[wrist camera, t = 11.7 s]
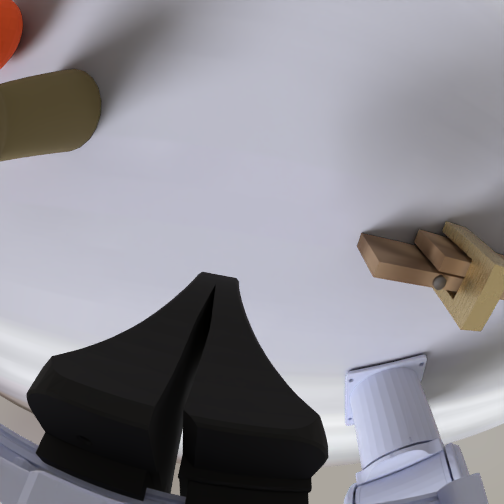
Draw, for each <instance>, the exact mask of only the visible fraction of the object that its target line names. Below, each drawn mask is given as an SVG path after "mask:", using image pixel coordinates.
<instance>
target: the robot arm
mask: <svg viewBox="0 0 504 504" xmlns="http://www.w3.org/2000/svg"><path fill="white" fill-rule="evenodd" d="M426 362H427V357H426V355H419V356H415V357H411V358H407V359H403V360H399V361H395V362H391V363H386V364H382V365H377V366H373V367H368V368H363V369H358V370H353V371H349V372H347V373H346V375H345V376H346V401H345V424H346V425H348V426H349V425H355V430H356V436H357V442H358V448H359V454H360V460H361V467H362V471H360V472H357V473H356V481H357V483H354V484H352V485H351V486H350V487H349V490H348V492H347V494H346V496H345V499H344V504H488V500H487V497H486V493H485V489H484V486H483V483H482V480H481V476H480V473H475V474H472V475H469V472H468V469H467V466H466V463H465V460H464V457H463V454H462V452H461V449H460V447H459V445H456V444H453V443H449V444H447V445H445V446H444V444H443V442H442V440H441V437H440V434H439V431H438V428H437V425H436V423H435V420H434V417H433V414H432V411H431V409H430V406H429V403H428V401H427V398H426V395H425V393H424V390H423V388H422V385H421V381H422V378H423V374H424V370H425V366H426ZM27 401H28V404H29V406H30V408H31V410H32V412H33V414H34V415H35V416H36V418H37V420H38V421H39V423H40V424H41V426H42V428H43V429H44V430H45V434H44V436H43V438H42V440H41V442H40V445H37V444H35V443H33V442H31V441H29V440H28V439H26V438H24V437H22V436H20V435H19V434H17V433H15V432H14V431H12V430H10V429H9V428H7V427H5V426H4V425H2V424H0V504H308V493H309V492H310V491H311V488H312V486H311V477H312V476H313V475H314V474H315V473H316V472H317V471H318V470H319V469H320V468H321V467H322V466H323V465H324V463H325V462H326V460H327V459H328V444H327V439H326V435H325V431H324V428H323V424H322V421H321V418H320V416H319V415H318V414H317V413H316V412H315V411H314V410H313V409H312V408H311V407H310V406H308V405H307V404H306V403H305V402H304V401H303V400H302V399H301V398H300V397H299V396H297V394H296V393H295V392H294V391H293V390H292V389H291V388H290V387H289V386H288V385H287V383H286V382H285V381H284V379H283V378H282V377H281V376H280V374H279V373H278V372H277V370H276V369H275V368H274V367H273V365H272V364H271V362H270V361H269V359H268V358H267V356H266V355H265V353H264V351H263V349H262V348H261V346H260V344H259V342H258V341H257V339H256V337H255V335H254V332H253V330H252V328H251V326H250V323H249V321H248V318H247V316H246V313H245V310H244V307H243V303H242V300H241V296H240V291H239V281H238V280H237V278H233V277H227V276H222V275H217V274H211V273H206V272H201V273H200V274H199V275H198V276H197V277H196V278H195V279H194V280H193V281H192V282H191V283H190V284H189V285H188V286H187V287H186V288H185V289H184V290H183V291H182V292H180V293H179V294H178V295H177V296H176V297H175V298H174V299H172V300H171V301H170V302H169V303H167V304H166V305H165V306H164V307H162V308H161V309H160V310H158V311H157V312H156V313H154V314H153V315H151V316H150V317H148V318H147V319H145V320H144V321H142V322H141V323H139V324H137V325H136V326H134V327H132V328H130V329H128V330H126V331H124V332H122V333H120V334H118V335H116V336H114V337H112V338H110V339H107V340H105V341H102V342H100V343H97V344H94V345H91V346H88V347H85V348H82V349H79V350H75V351H71V352H67V353H64V354H60V355H55V356H52V357H51V358H50V359H49V361H48V362H47V363H46V364H45V366H44V367H43V368H42V370H41V371H40V373H39V374H38V376H37V378H36V379H35V381H34V382H33V384H32V386H31V387H30V389H29V390H28V392H27ZM182 429H183V455H182V460H181V465H180V470H179V474H178V478H179V481H180V496H179V495H175V494H170V493H171V487H172V481H173V475H174V470H175V465H176V459H177V454H178V449H179V444H180V439H181V434H182Z"/></svg>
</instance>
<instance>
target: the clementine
mask: <svg viewBox="0 0 504 504" xmlns="http://www.w3.org/2000/svg"><path fill="white" fill-rule="evenodd" d="M22 29H23V20H22V15H21V12H20V9H19V7H18V6H17V5H16V4H15V3H14V2H13V1H12V0H0V69H1V68H2V67H3V66H4V65H5V64H6V63H7V61H8V60H9V59H10V58H11V57H12V55H13V54H14V52H15V50H16V48H17V46H18V44H19V42H20V38H21V35H22Z"/></svg>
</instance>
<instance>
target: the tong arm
mask: <svg viewBox="0 0 504 504" xmlns="http://www.w3.org/2000/svg"><path fill="white" fill-rule="evenodd" d="M414 243H415V244H416V245H417V246H418V247H419V248H420V250H421V251H422V252H423V253H424V254H425V255H426V257H427V258H428V259H429V260H430V261H431V262H432V264H433V265H434V266H435V267H436V268H437V270H438V271H441V272H445V273H449V274H454V275H458V276H462V277H465V275H466V273H467V271H468V269H469V266H470V264H471V262H472V259H471V258H470V257H469V256H468V255H467V254H466V253H465V252H464V251H463V250H462V249H461V248H460V247H459V246H457V245H456V244H455V243H454V242H453V241H452V240H451V239H450V238H447V237H444V236H441V235H437V234H434V233H430V232H427V231H423V230H420V229H419V231H418V233H417V236H416V239H415V241H414ZM496 254H497V255H499V256H500V257H501V258H502V259H503V260H504V255H501V254H498V253H496Z"/></svg>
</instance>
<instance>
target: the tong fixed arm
mask: <svg viewBox="0 0 504 504" xmlns="http://www.w3.org/2000/svg"><path fill="white" fill-rule="evenodd" d="M357 247H358V249H359V251H360V253H361V255H362V257H363V258H364V260H365V262H366V264H367V266H368V268H369V270H370V272H371V274H372V276H373V277H376V278H381V279H387V280H393V281H398V282H404V283H409V284H415V285H421V286H426V287H432V288H435V289H436V290H441V289H443V290H449V291H455V292H458V290H459V288H460V286H461V283H462V281H463V279H464V277H462V276H458V275H454V274H449V273H445V272H441V271H438V270H437V268H436V267H435V266H434V265H433V264H432V262H431V261H430V260H429V259H428V258H427V257H426V255H425V254H424V253H423V252H422V251H421V250H420V248H419V247H418V246H416V245H412V244H408V243H404V242H399V241H395V240H391V239H386V238H382V237H377V236H373V235H368V234H364V233H361V236H360V239H359V242H358V245H357ZM500 299H501V300H504V291H503V293H502V295H501V297H500Z"/></svg>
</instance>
